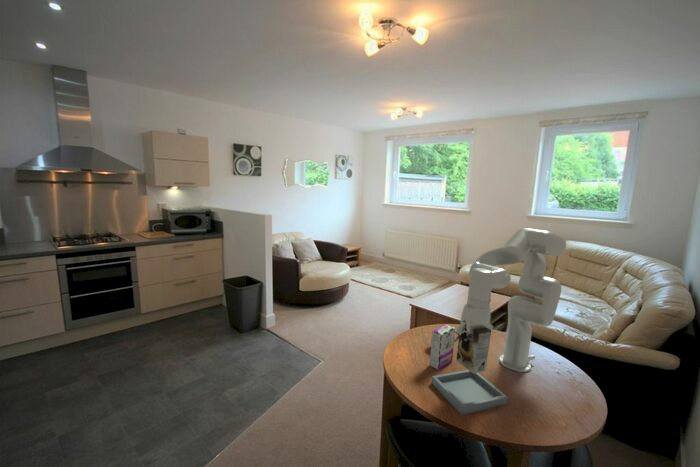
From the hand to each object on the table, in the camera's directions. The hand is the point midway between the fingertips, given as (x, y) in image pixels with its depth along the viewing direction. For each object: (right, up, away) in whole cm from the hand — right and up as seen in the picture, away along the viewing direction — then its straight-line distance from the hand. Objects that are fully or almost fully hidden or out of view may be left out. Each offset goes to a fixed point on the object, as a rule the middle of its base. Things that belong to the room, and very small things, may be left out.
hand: (472, 347), depth 116 cm
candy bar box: (-5, -15, +22) cm, 28 cm away
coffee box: (0, -7, +1) cm, 7 cm away
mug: (0, -14, +36) cm, 38 cm away
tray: (-1, -18, +3) cm, 19 cm away
